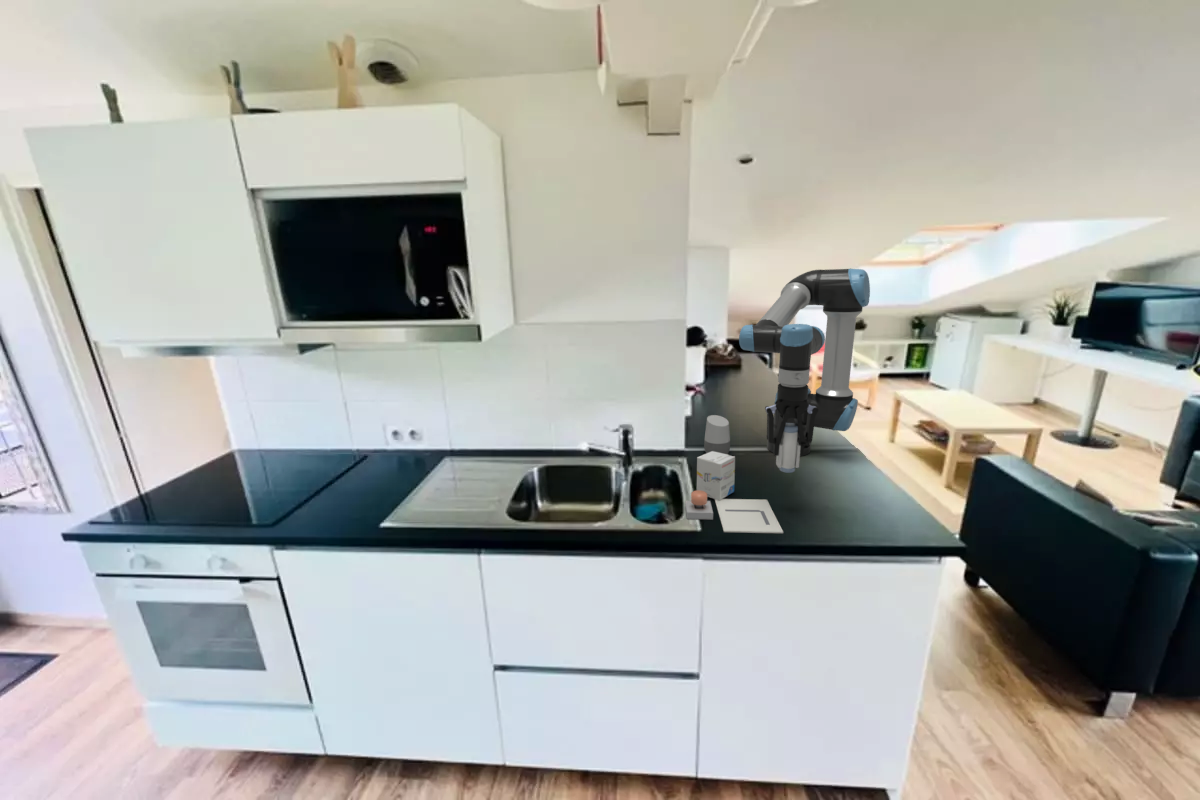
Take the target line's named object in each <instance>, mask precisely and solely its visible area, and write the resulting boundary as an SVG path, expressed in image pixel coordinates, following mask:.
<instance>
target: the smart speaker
mask: <svg viewBox="0 0 1200 800" xmlns="http://www.w3.org/2000/svg"><path fill="white" fill-rule="evenodd" d="M705 424H706V425H705V432H704V433H705V434H704V439H703V440H704V442H703V448H704V452H705V454H707V453H709V452H711V451H714V452H718V453H723V454H727V455H729V452H730V449H731V433H730V422H729V420H728V419H727V418H726V417H723V416H722V415H716V414H711V415H708V416H707V417H706V423H705Z"/></svg>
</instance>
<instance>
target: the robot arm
mask: <svg viewBox="0 0 1200 800" xmlns="http://www.w3.org/2000/svg"><path fill="white" fill-rule="evenodd" d="M870 286H871V284H870V278H869V274H868V272H867V271H866V270H865V269H861V268H840V269H839V268H837V269H836V268H835V269H833V268H832V269H830V268H829V269H814V270H808V271H806V272H804V273H801V274H799V275H798V276H796V277H794V278H792V279H791V280H789V282H787V283H786V284H785V286H783V287H782V289H781V291H780V296H779V297H778V298H777V300H776V301H774V303H773V304H772V305H771V306H770V308H769V309H768V310H767V311H766V312H765V314H764V315H763V316H762V317H761V319H760V320H759V321H758V322H757V323H756V324H746V325H743V326H742V327H741V329H740V331H739V337H738V338H739V339H738V343H739V346H740V348H741V349H742V350H743V351H748V352H749V351H750V352H752V353H756V352H757V353H773V354H779V360H778V361H779V364H778V379H777V382H778V384H777V392H776V393H775V401H774V404H772V405H770V406H769V405H766V406H765V407H764V410H765V412H766V439H767V443H766V449H767V450H768V451H769V452H771V453H773V454H774V456H776V457H775V459H776V460H775V465H776V466H777V468H778V469H779V468H781V464H782V450H783V445H782V444H781V439H782V435H783V432H784V428H785V425H786V423H794V424H796V425H797V426H798V435H797V448H796V461H795V469H796V468H797V469H799V468H800V460H801V459H800V458H801V457H804V456H806V455H809V454H810V453H811V449H812V448H811V446H812V444H811V443H812V441H813V438H814V437H813V436H814V431H815V429H814V428H819V429H825V430H829V431H830V430H832V431H836V432H837V431H839V432H846V431H848V430H849V429H850V428H851V426H852V424H853V421H854V418H855V416H856V413H857V410H858V405H859V404H858V402H859V401H858V399H856V398H855V397H854V392H853V390H851V388H850V379H851V369H852V360H853V359H852V358H853V351H854V342H855V341H854V340H855V333H856V323H857V322H856V321H857V317H858V316H860V315H861V314H862V313H863V308H865V307H867V306H868V305H869V303H870V295H871V287H870ZM807 306H822V312H823V313H824V314H825V315H826V328H825V329H826V330H825V333H824V332H823V330H822V329H821V328H819V327H817V326H814V325H810V324H807V323H806V324H804V323H791V322H792V321H793V319H794V318H795V316H796V315H798V313H799V311H800V310H803V309H804V308H806V307H807ZM823 347H824V350H823V351H824V352H823V360H822V361H823V362H822V371H821V373H822V374H821V381H820V382H821V383H820V384H821V385H820V386H819V387H818V388H817V389H816V390H815V393H811V389H810V388H809V385H808V384H809V382H810V372H811V371H810V368H811V360H812V359H811V358H812V356H813V355H814V354H817V353H818V352H819V351H820V350H821V349H822V348H823Z"/></svg>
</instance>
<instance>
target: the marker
mask: <svg viewBox="0 0 1200 800" xmlns="http://www.w3.org/2000/svg"><path fill="white" fill-rule="evenodd" d="M797 435H798V426H797V425H796V424H794V423H786V425H785V428H784V432H783V435H782V439H781V444H782V445H783V450H782V464H781V468H778V469H779V471H780V472H783V473H787V474H791V473H794V472H795V471H796V467H795V461H796V448H797Z"/></svg>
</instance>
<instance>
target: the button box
mask: <svg viewBox="0 0 1200 800" xmlns="http://www.w3.org/2000/svg"><path fill="white" fill-rule="evenodd" d="M684 507H685V514H686V519H687V520H714V511H713V507H712V502H711V500H707V504H705V505H702V509H696V505H694V504H693V503H691V500H685V504H684Z"/></svg>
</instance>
